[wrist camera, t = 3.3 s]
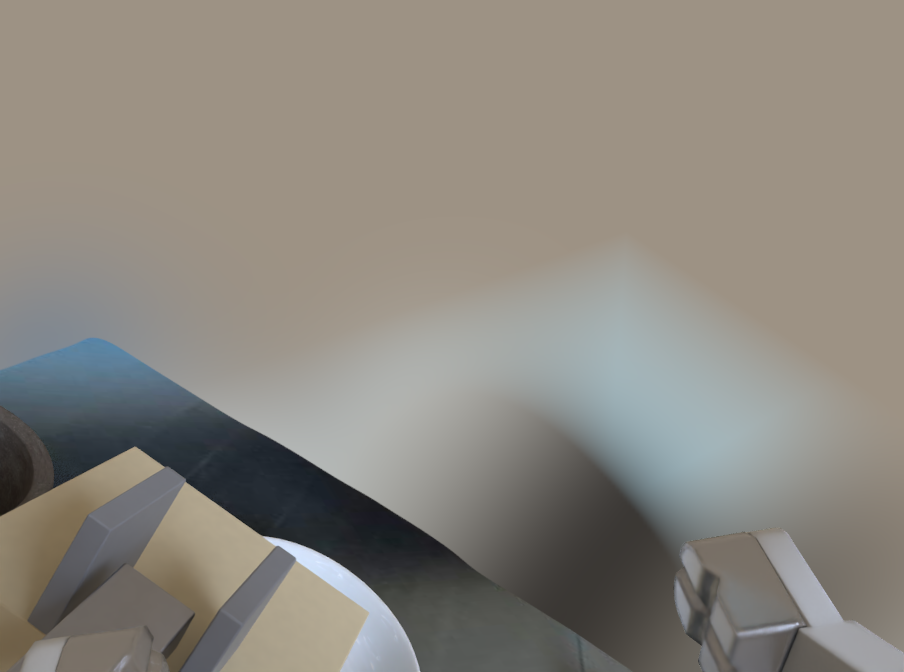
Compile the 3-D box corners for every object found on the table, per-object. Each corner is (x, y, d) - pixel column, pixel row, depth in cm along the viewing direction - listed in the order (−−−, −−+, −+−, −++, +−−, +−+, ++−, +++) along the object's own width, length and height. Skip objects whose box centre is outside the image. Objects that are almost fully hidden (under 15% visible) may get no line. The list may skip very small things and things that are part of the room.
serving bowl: (96, 595, 55) (137, 526, 54) (314, 594, 70) (351, 540, 68) (169, 876, 41) (227, 795, 40) (421, 800, 56) (470, 739, 55)
